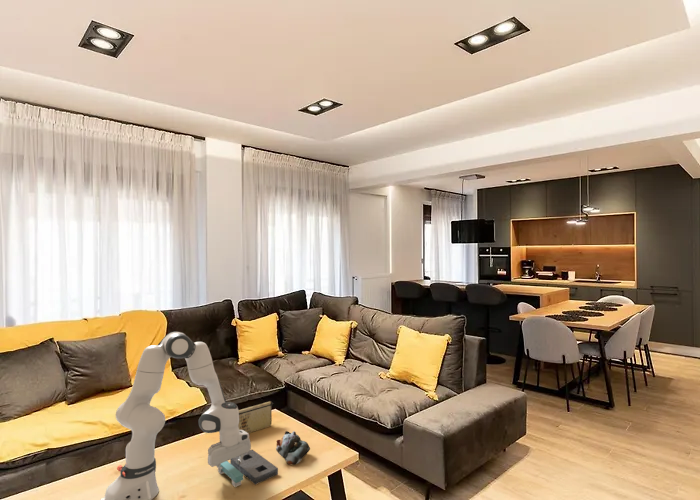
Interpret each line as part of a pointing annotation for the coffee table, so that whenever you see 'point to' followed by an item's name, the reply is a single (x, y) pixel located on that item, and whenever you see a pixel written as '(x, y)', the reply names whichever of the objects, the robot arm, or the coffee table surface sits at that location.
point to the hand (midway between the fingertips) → (230, 467)
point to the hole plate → (255, 467)
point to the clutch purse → (255, 417)
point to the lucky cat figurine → (292, 448)
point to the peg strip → (232, 473)
